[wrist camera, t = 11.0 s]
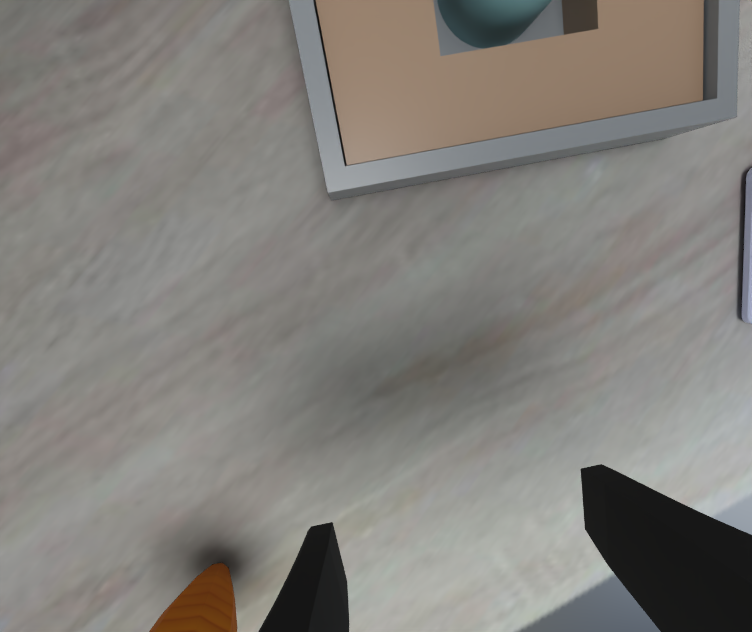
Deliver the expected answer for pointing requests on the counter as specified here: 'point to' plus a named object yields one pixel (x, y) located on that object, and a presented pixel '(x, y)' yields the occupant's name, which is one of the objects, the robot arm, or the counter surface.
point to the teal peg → (489, 19)
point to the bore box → (506, 85)
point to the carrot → (202, 605)
